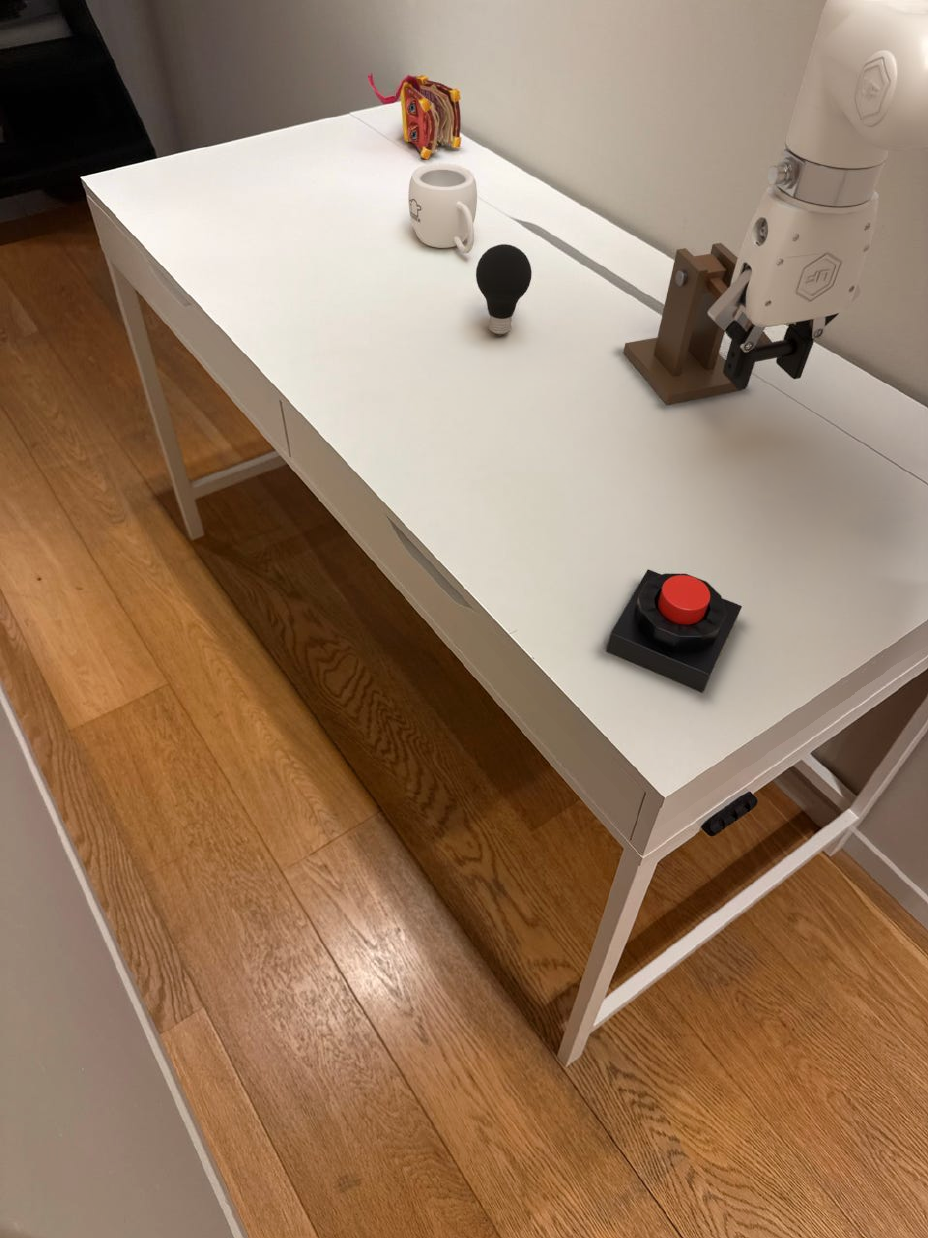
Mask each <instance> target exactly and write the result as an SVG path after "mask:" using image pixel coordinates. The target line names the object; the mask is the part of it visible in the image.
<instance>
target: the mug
mask: <svg viewBox="0 0 928 1238" xmlns="http://www.w3.org/2000/svg"><path fill="white" fill-rule="evenodd" d="M477 188H478V187H477V181H476V178H475V176H474V173H472V171H470V170H469V169H467V168H465V167H463V166H460V165H457V164H452V163H445V162H444V163H443V162H439V163H438V162H437V163H432V164H431V163H430V164H426V165H423V166H420V167H418V168H416V169H415V170H413V172H412V174H411V177H410V179H409V182H408V192H407V193H408V194H407V195H408V196H407V197H408V211H409V217H410V221H411V225H412V228H413V230H414V232H415V235H416V237H417V238H418V239H419V240H420V242H422V243H423V244H425V245H427V246H429V247H433V248H438V249H441V248H442V249H447V248H454V247H457V248H458V249H459V250H460V252H461V253H464V254H469V253H470V252H471V251H472V249H473V247H474V241H475V240H474V239H475V228H474V224H475V223H474V222H475V219H476V215H477V214H476V213H477V206H478V189H477ZM465 240H467V243H466V246H465V245H464V242H465Z"/></svg>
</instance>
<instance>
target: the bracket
mask: <svg viewBox="0 0 928 1238" xmlns="http://www.w3.org/2000/svg"><path fill="white" fill-rule="evenodd" d="M709 254H713V255H714V256H715V257H716V258H717V259H718V261H719V262H720V263H721V264H722V265H723V267H724V268H725V269H726V272H725V275H724V278H723V283H724V284H725V285H726V286H727V288H729V287H730V285H731V280H732V277H733V273H734V269H735V266H736V263H737V260H738V256H737V255H735V254H734V253H733V252H732V251H731V250H730V249H729V248H728V247H726V246H725V244H723V243H722V242H718V243H712V245H711V249H710V253H709ZM694 256H695V255H693V254H692V253H691V252H690V251H689V250H688V249H687V248H686V247H685V248H678V249H676V252H675V256H674V260H673V265H672V270H671V275H670V278H669V279H670V280H669V284H668V289H667V293H666V297H665V302H664V306H663V310H662V314H661V319H660V323H659V329H658V333H657V337H653V338H646V339H640V340H635V341H629V342H625V343H624V346H623V354H624V355H625V357H626V358H627V359H628V360H629V362H630V363H631V364H632V365H633V366H634V368H635V369H636V370H637V371H638V373H640V375H641V376H642V377H643V378H644V379H645V380H646V381H647V383H648V384H649V385H650V386H651V388H652V389H653V391H655V392H656V394H657V395H658V396H659V398H660V399H662V401H663V402H664V404H665V405H673V404H677V403H683V402H687V401H692V400H697V399H702V398H706V397H712V396H718V395H722V394H727V393H732V392H737V391H739V390H738V389H737V388H736V387H735V386H734V385H733V384H732V383H731V382H730V381H729V379H728V378H727V377H726V376H725V375H724V373H723V369H724V364H725V360H726V358H725V357H724V356H723V355H722V354H721V353H720V351H721V347H722V345H723V341H724V338H725V337H724V336H725V334H726V332H725V331H724V330H723V329H722V328H721V327H720V326H718V325H717V324H716V323H715V322H714V321H713V320H712V319H711V318H710V317H709V316H708V310H709V309H710V308H711V307H712V306H713V304H714V303H715V302H716V301H717V300H716V299H715V297H714V296H713V295H712V294H711V293H706V294H702V292H703V288H704V284H705V280H706V276H707V272H708V269H707V268H706V267H705V266H704V265H703V264H702V263H701V262H700V261H698V260H697V259H696V258H695V257H694Z"/></svg>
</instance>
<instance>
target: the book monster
mask: <svg viewBox="0 0 928 1238" xmlns="http://www.w3.org/2000/svg"><path fill="white" fill-rule="evenodd" d="M373 76H374V75H373V73H372V72H370V74H367V79H368V82H369V85H370V86H371V87H372V88H373V90H374V91H373V92H374V93H375V95H376V98H377V99H378V100H379V102H381V103H382V105H390V104H394V103H397V102H398V101H399V99H400V105H401V117H402V119H401V120H402V132H403V140H404V141H405V142H406V143H411V144H413V145H414V146H415V147H416V148H417V150H418V151H419V152H420V157H421V158H423V159H425V160H429V159H430V157H431V155H433V154H434V153H435V152H436V147H439V144H441V146H443V147H445V145H444V144H445V143H446V144H448V145H450V147H452V148H454V149H455V148H457V149H458V148H461V143H462V137H461V125H462V115H461V108H460V100H461V92H460V89H458V88H457V87H455V88H452V87H450V86H448V85H446V84H444V83H441V82H438V81H433V80H429V77H428V76H427V75H423V74H420V75H419V76H418V75H416V76H415V75H414V76H413V75H409V74H407V75H406V77H404V79H403V80H402V81H401V82H399V86H398V88H397V89H396V92H395V94H392V95H391V94H390V95H387V96H384V95H383V94H382V93H380V92H379V91H378V89H377V88H376V86H375V82H374V77H373ZM438 143H439V144H438Z"/></svg>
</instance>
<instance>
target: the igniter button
mask: <svg viewBox="0 0 928 1238" xmlns="http://www.w3.org/2000/svg"><path fill="white" fill-rule="evenodd" d="M691 576H692V575H691ZM691 576H686V575H678V576H673V577H671V578H669V579H668V580H666V582H665V583H664V584H663V587H662V590H661V594H660V597H659V600H658V607H659V610H660V612H661V613H662V615H663V616H664V617H665V618H667V619H668V620H670V621H672V622H674V623H677V624H682V625H690V624H694V623H697V622H698V621H700V620H701V619H702V618H703V616H704V614H705V612H706V609H707V606H708V603H709V601H710V592H709V590H708V588H707V586H706V585H705V584H704V583H703V582H701V581H700V580H698V579H699V578H698V579H696V578H697V577H696V578H694V577H695V576H693V577H691Z"/></svg>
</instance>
